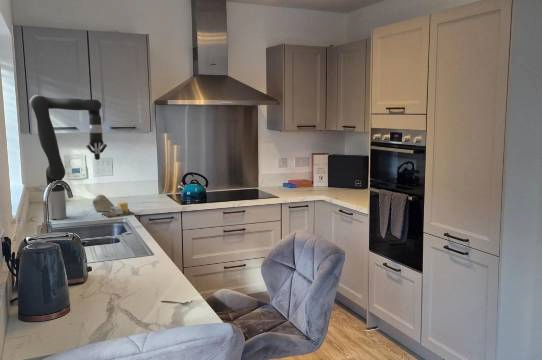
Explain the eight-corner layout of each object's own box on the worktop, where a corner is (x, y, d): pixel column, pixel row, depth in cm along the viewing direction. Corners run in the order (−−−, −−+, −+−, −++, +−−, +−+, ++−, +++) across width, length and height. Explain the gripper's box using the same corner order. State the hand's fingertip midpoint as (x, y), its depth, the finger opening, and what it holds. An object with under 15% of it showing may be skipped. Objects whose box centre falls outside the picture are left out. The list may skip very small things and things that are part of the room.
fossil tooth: (113, 214, 324) (90, 212, 325) (116, 211, 331) (94, 209, 331) (113, 197, 322) (90, 195, 322) (117, 195, 328) (94, 192, 328)
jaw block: (121, 213, 316) (120, 204, 315) (118, 212, 319) (117, 202, 318) (127, 212, 318) (127, 203, 318) (125, 211, 322) (124, 202, 321)
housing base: (108, 218, 308) (108, 213, 307) (102, 215, 316) (102, 210, 315) (133, 214, 318) (132, 209, 317) (126, 211, 326) (126, 207, 325)
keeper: (115, 214, 311) (115, 209, 310) (109, 212, 318) (109, 207, 318) (122, 213, 313) (122, 208, 313) (116, 211, 321) (116, 206, 321)
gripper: (104, 131, 318) (105, 158, 321) (83, 132, 310) (84, 159, 312) (108, 131, 312) (109, 159, 315) (87, 132, 304) (88, 160, 307)
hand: (97, 159), depth 314 cm, fingers closed
